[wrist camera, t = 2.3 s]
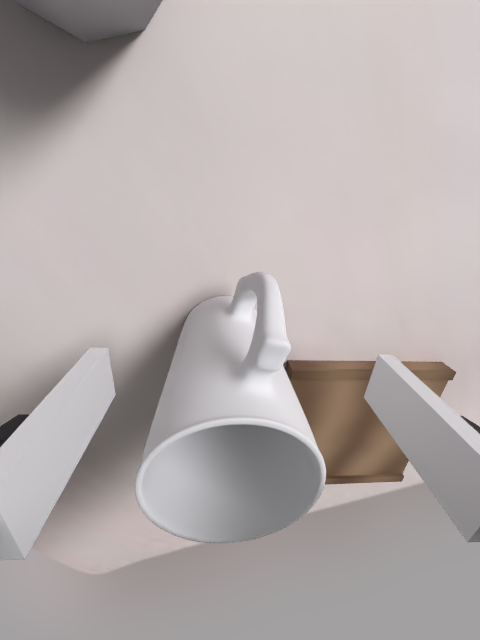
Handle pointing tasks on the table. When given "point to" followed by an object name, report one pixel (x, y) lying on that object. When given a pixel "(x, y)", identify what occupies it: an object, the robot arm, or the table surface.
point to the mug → (230, 426)
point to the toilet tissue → (95, 16)
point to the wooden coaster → (354, 417)
